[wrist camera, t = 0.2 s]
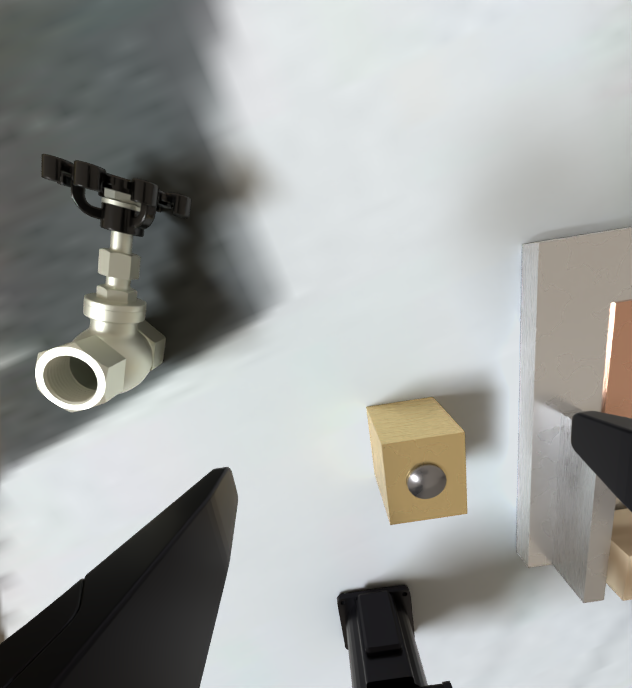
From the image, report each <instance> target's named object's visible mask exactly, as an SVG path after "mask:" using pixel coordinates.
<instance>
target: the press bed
mask: <svg viewBox="0 0 632 688" xmlns="http://www.w3.org/2000/svg"><path fill="white" fill-rule="evenodd" d="M585 411H598V412H602V413H607V414H612V415H617V416H622V417H627V418H632V227H627V228H621V229H615V230H608V231H602V232H596V233H590V234H583V235H577V236H571V237H564V238H558V239H552V240H546V241H539V242H533V243H527V244H522V288H521V339H520V389H519V439H518V490H517V540H516V552H517V553H518V554H519V556H520V557H521V559H522V560H523V561H524V563H525V564H526V566H527V567H528V568H530V567H537V566H544V565H551V564H552V565H553V566H554V567H555V568H556V570H557V571H558V572H559V573H560V575H561V576H562V577H563V578H564V580H565V581H566V582H567V583H568V585H569V586H570V587H571V588H572V589H573V591H574V592H575V593H576V594H577V596H578V597H579V598H580V599H581V601H582V602H583V603H587V602H594V601H601V600H604V594H605V586H606V578H607V570H608V561H609V553H610V545H611V536H612V528H613V520H614V512H615V510H620V509H627V507H626V506H625V505H624V504H623V503H622V502H621V501H620V500H619V499H618V498H617V497H616V496H615V495H614V494H613V493H612V492H611V490H610V489H609V488H608V487H607V486H606V485H605V484H604V483H603V482H602V481H601V479H600V478H599V477H598V476H597V475H596V474H595V473H594V472H593V471H592V470H591V469H590V467H589V466H588V465H587V464H586V463H585V462H584V461H583V460H582V459H581V458H580V456H579V455H578V454H577V453H576V452H575V451H574V449H573V447H572V445H571V425H572V417H573V415H574V414H575V413H578V412H585Z"/></svg>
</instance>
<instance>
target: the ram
mask: <svg viewBox="0 0 632 688" xmlns="http://www.w3.org/2000/svg"><path fill="white" fill-rule="evenodd" d="M606 583H607V584H608V585H609V586H610V587H611V588H612V590H613V591H614V592H615V593H616V594H617V595H618V596H619V597H620V598H621V599H622V600H623V601H624V600H631V599H632V512H631V511H630V510H629V509H628V508H627V509H620V510H615V512H614V520H613V528H612V536H611V545H610V553H609V561H608V570H607V578H606Z"/></svg>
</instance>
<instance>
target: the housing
mask: <svg viewBox="0 0 632 688" xmlns="http://www.w3.org/2000/svg"><path fill="white" fill-rule="evenodd" d="M366 408H367V416H368V424H369V432H370V441H371V449H372V457H373V465H374V473H375V477H376V480H377V484H378V487H379V490H380V493H381V496H382V500H383V503H384V506H385V509H386V512H387V516H388V519H389V522H390V525H393V524H400V523H407V522H414V521H421V520H428V519H434V518H441V517H448V516H455V515H462V514H467V488H466V455H465V432H464V431H463V429H462V428H461V427H460V426H459V425H458V424H457V423H456V422H455V421H454V420H453V419H452V417H451V416H450V415H449V414H448V413H447V412H446V411H445V410H444V409H443V408H442V407H441V405H440V404H439V403H438V402H437V401H436V400H435V399H434V398H433V397H428V398H421V399H415V400H408V401H402V402H395V403H389V404H382V405H376V406H369V407H366Z"/></svg>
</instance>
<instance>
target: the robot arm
mask: <svg viewBox="0 0 632 688" xmlns="http://www.w3.org/2000/svg"><path fill="white" fill-rule="evenodd" d="M571 445H572V447H573V449H574V451H575V452H576V453H577V454H578V455H579V456H580V458H581V459H582V460H583V461H584V462H585V463H586V464H587V465H588V466H589V467H590V469H591V470H592V471H593V472H594V473H595V474H596V475H597V476H598V477H599V478H600V479H601V481H602V482H603V483H604V484H605V485H606V486H607V487H608V488H609V489H610V490H611V492H612V493H613V494H614V495H615V496H616V497H617V498H618V499H619V500H620V501H621V502H622V503H623V504H624V505H625V506H626V507H627V508H628V509H629V510H630V511H631V512H632V418H627V417H622V416H617V415H612V414H607V413H602V412H598V411H585V412H578V413H575V414H574V415H573V417H572V425H571ZM237 505H238V494H237V490H236V486H235V482H234V478H233V475H232V471H231V469H230V468H229V467H223V468H216V469H213V470H212V471H211V472H209V473H208V474H207V475H206V476H205V477H203V478H202V479H201V480H200V481H199V482H197V483H196V484H195V485H194V486H193V487H191V488H190V489H189V490H188V491H187V492H185V493H184V494H183V495H182V496H181V497H179V498H178V499H177V500H176V501H175V502H173V503H172V504H171V505H170V506H169V507H167V508H166V509H165V510H164V511H162V512H161V513H160V514H159V515H158V516H156V517H155V518H154V519H153V520H152V521H150V522H149V523H148V524H147V525H146V526H144V527H143V528H142V529H141V530H140V531H138V532H137V533H136V534H135V535H134V536H132V537H131V538H130V539H129V540H128V541H126V542H125V543H124V544H123V545H122V546H120V547H119V548H118V549H117V550H116V551H114V552H113V553H112V554H111V555H110V556H108V557H107V558H106V559H105V560H104V561H102V562H101V563H100V564H99V565H98V566H96V567H95V568H94V569H93V570H92V571H90V572H89V573H88V574H87V575H86V576H85V579H81V580H79V581H78V582H77V583H76V584H75V585H73V586H72V587H71V588H70V589H69V590H67V591H66V592H65V593H64V594H63V595H61V596H60V597H59V598H58V599H56V600H55V601H54V602H53V603H52V604H50V605H49V606H48V607H47V608H45V609H44V610H43V611H42V612H40V613H39V614H38V615H37V616H36V617H34V618H33V619H32V620H31V621H29V622H28V623H27V624H26V625H24V626H23V627H22V628H20V629H19V630H18V631H16V632H15V633H14V634H13V635H11V636H10V637H9V638H7V639H6V640H5V641H4V642H2V643H1V644H0V688H200V683H201V679H202V675H203V671H204V667H205V663H206V659H207V655H208V650H209V646H210V642H211V638H212V634H213V630H214V626H215V621H216V617H217V613H218V609H219V605H220V601H221V597H222V592H223V588H224V584H225V580H226V576H227V571H228V567H229V562H230V555H231V548H232V541H233V534H234V526H235V519H236V512H237ZM337 604H338V610H339V615H340V620H341V626H342V631H343V637H344V642H345V647H346V649H347V650H349V660H350V669H351V679H352V688H452V685H451V683H450V681H445V682H442V684H436V685H428V684H427V681H426V677H425V674H424V670H423V667H422V663H421V660H420V656H419V652H418V649H417V645H416V642H415V636H414V626H413V616H412V606H411V596H410V591H409V588H408V587H407V586H405V585H402V586H395V587H388V588H381V589H374V590H367V591H360V592H353V593H346V594H341V595H339V596H338V597H337Z"/></svg>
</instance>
